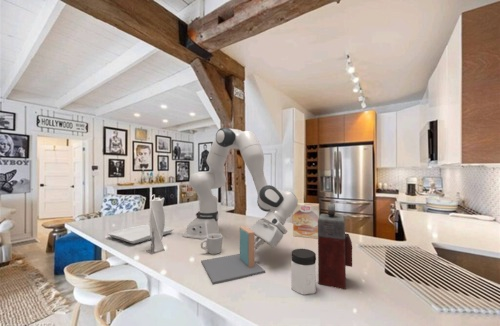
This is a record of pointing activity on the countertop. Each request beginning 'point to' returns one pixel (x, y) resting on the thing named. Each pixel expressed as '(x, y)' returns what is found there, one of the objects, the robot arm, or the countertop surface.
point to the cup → (213, 243)
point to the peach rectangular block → (247, 246)
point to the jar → (303, 271)
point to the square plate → (136, 233)
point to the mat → (229, 268)
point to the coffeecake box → (306, 220)
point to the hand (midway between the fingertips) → (253, 247)
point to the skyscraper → (156, 225)
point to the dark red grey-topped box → (333, 249)
